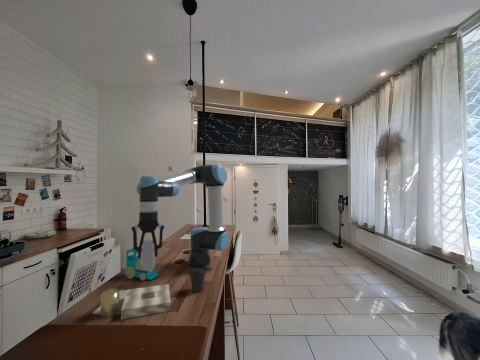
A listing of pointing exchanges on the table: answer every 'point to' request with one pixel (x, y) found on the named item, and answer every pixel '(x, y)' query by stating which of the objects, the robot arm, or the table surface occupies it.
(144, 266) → the square bit
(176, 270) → the table surface
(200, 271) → the coffee cup
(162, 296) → the socket board
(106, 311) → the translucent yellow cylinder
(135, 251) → the toy train
